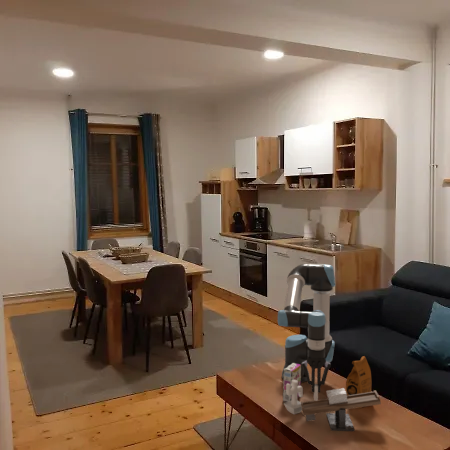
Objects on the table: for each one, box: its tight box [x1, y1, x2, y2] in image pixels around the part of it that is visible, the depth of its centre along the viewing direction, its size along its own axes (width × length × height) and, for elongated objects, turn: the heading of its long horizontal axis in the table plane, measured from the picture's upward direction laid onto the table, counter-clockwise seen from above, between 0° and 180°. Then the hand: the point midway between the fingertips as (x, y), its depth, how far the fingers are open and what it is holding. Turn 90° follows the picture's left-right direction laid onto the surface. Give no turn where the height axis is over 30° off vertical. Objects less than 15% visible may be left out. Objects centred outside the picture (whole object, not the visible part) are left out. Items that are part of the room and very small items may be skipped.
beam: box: [300, 390, 382, 422], centre depth 210 cm, size 9×34×6 cm, turn 86°
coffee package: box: [345, 355, 373, 409], centre depth 230 cm, size 10×12×22 cm
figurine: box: [283, 380, 304, 415], centre depth 222 cm, size 7×9×15 cm
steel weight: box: [325, 387, 348, 406], centre depth 210 cm, size 6×8×5 cm
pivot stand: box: [325, 408, 356, 432], centre depth 211 cm, size 14×10×9 cm
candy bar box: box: [282, 363, 302, 403], centre depth 235 cm, size 11×5×16 cm, turn 147°
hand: (315, 399), depth 211 cm, fingers closed
